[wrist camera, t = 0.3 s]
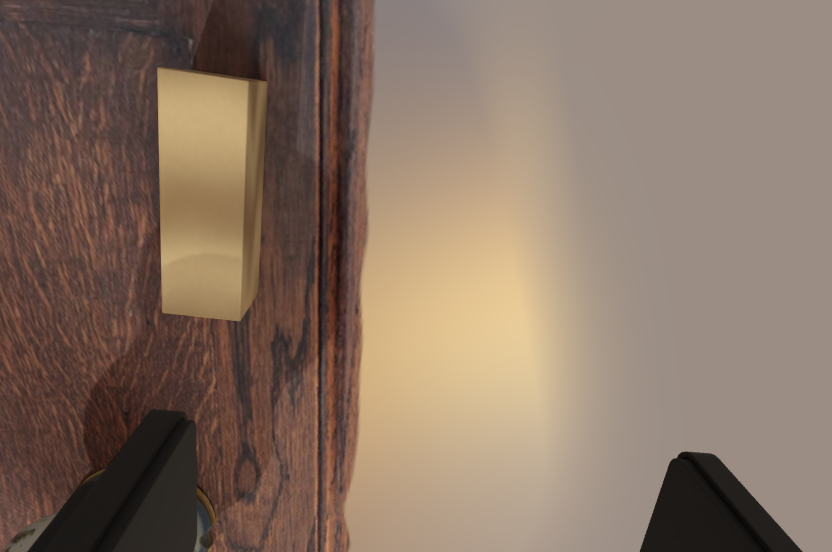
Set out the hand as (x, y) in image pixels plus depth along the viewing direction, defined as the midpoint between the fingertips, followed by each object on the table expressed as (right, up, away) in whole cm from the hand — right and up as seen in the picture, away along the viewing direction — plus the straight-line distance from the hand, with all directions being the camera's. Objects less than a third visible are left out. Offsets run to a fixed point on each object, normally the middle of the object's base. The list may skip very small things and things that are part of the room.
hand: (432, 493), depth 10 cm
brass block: (-11, +9, +19) cm, 24 cm away
